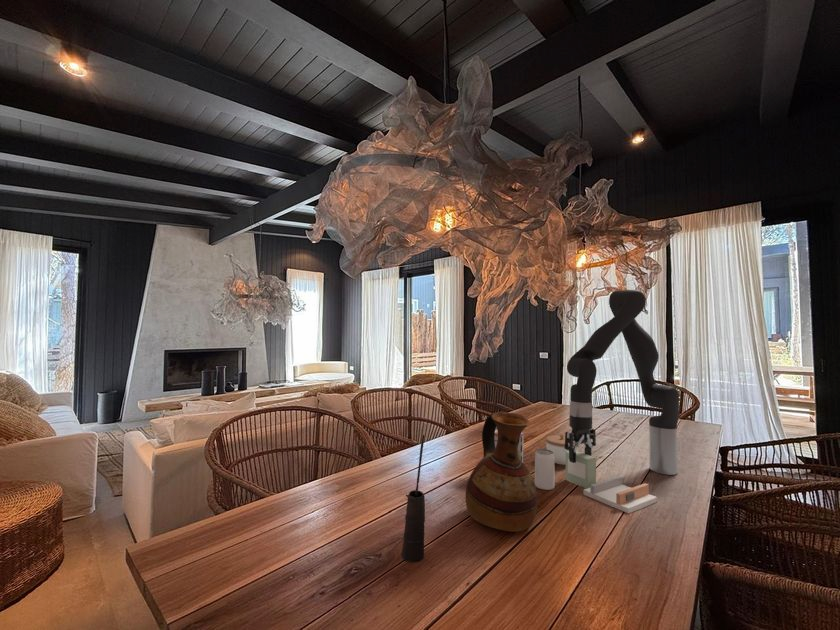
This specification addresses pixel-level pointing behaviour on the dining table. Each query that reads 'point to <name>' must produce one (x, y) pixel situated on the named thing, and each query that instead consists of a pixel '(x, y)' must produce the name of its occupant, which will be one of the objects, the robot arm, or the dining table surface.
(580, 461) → the carton
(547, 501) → the dining table surface
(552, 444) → the lidded bowl
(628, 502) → the shelf
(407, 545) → the butter churn
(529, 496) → the ceramic pitcher
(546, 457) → the can
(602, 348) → the robot arm
